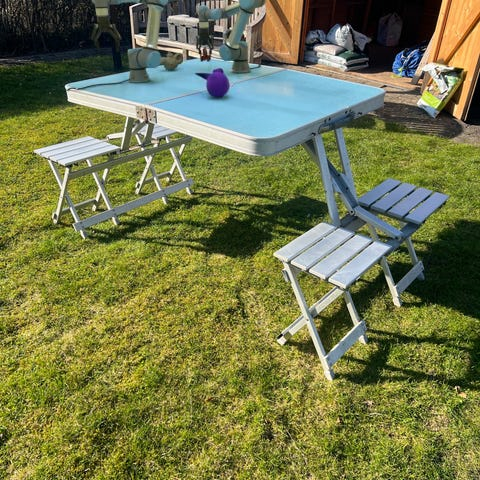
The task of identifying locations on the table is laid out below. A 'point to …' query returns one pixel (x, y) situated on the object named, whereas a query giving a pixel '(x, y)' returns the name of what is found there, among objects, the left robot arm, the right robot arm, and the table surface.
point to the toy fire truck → (205, 55)
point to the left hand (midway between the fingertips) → (108, 51)
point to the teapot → (171, 61)
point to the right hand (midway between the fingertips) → (205, 58)
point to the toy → (216, 82)
